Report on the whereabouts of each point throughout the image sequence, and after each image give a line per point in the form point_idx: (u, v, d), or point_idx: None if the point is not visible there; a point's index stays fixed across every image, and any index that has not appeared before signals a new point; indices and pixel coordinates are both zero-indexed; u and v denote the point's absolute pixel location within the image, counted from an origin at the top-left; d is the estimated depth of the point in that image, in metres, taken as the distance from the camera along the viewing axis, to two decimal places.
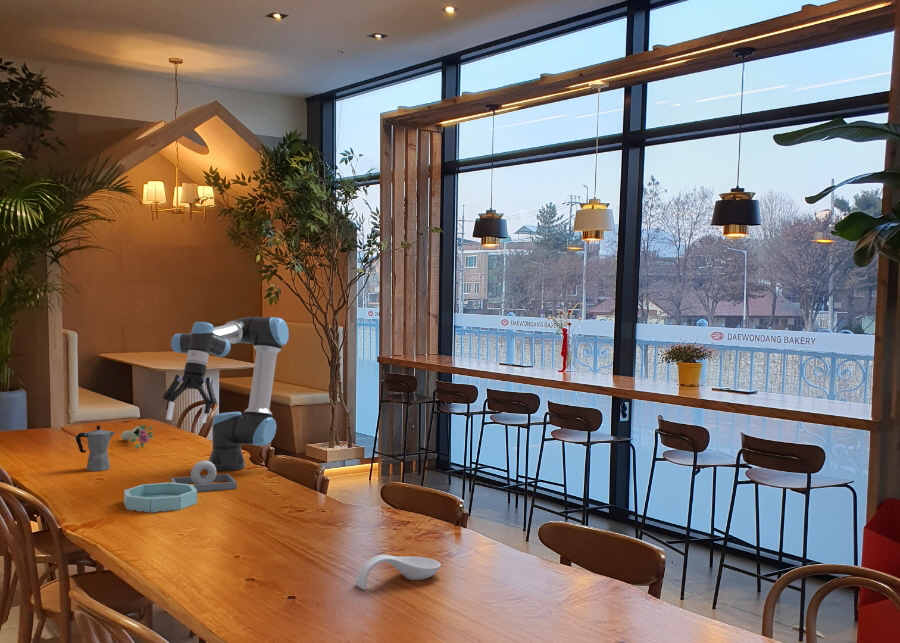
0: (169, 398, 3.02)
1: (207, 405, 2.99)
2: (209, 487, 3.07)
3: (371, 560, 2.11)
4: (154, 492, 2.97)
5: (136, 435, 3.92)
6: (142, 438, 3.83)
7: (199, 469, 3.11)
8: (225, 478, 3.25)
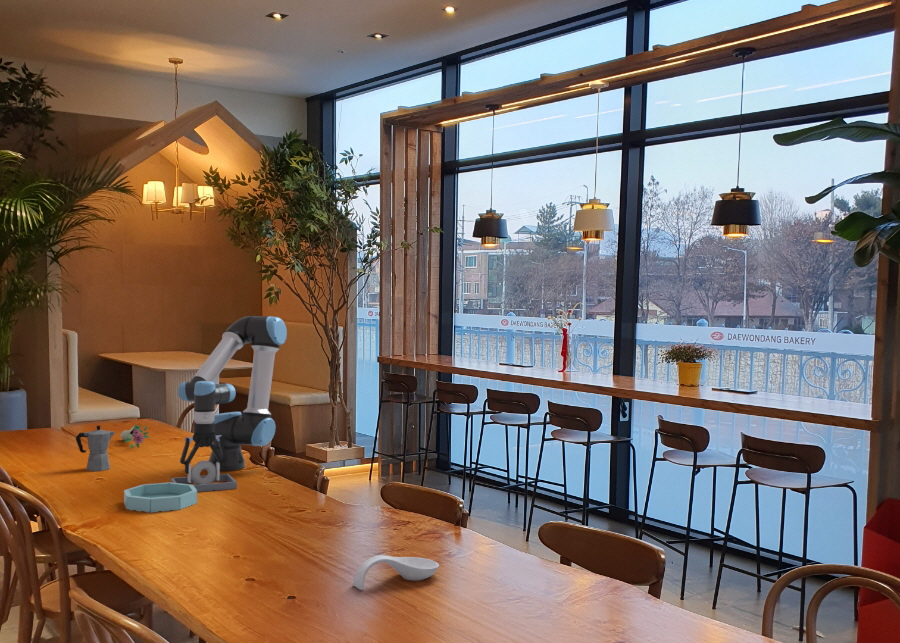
0: (188, 462, 3.10)
1: (220, 463, 3.16)
2: (209, 487, 3.07)
3: (368, 560, 2.11)
4: (154, 492, 2.97)
5: (132, 435, 3.92)
6: (136, 438, 3.83)
7: (199, 469, 3.11)
8: (225, 478, 3.25)
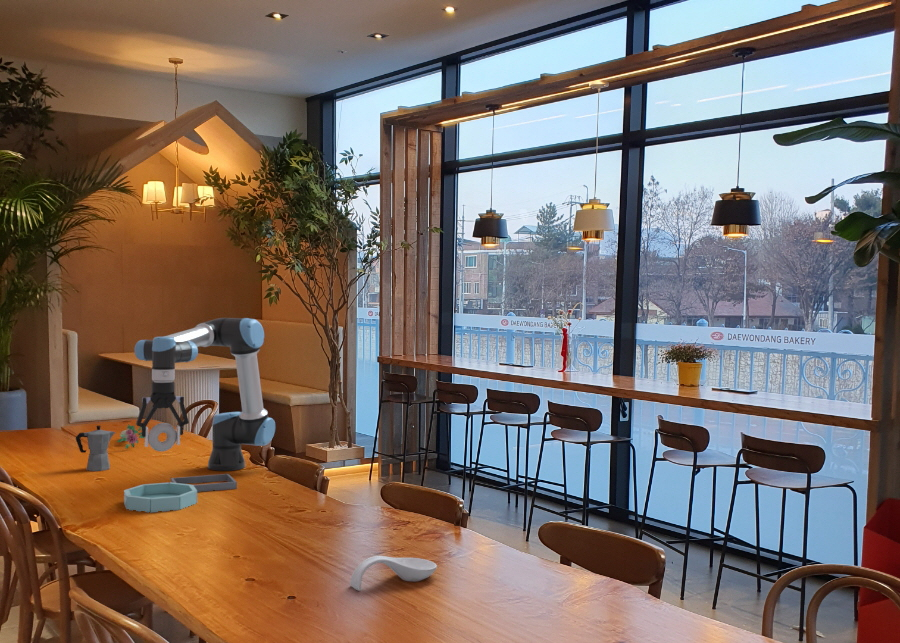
0: (145, 424, 2.84)
1: (181, 427, 2.90)
2: (209, 487, 3.07)
3: (366, 561, 2.11)
4: (154, 492, 2.97)
5: None
6: (130, 438, 3.82)
7: (157, 432, 2.85)
8: (225, 478, 3.25)
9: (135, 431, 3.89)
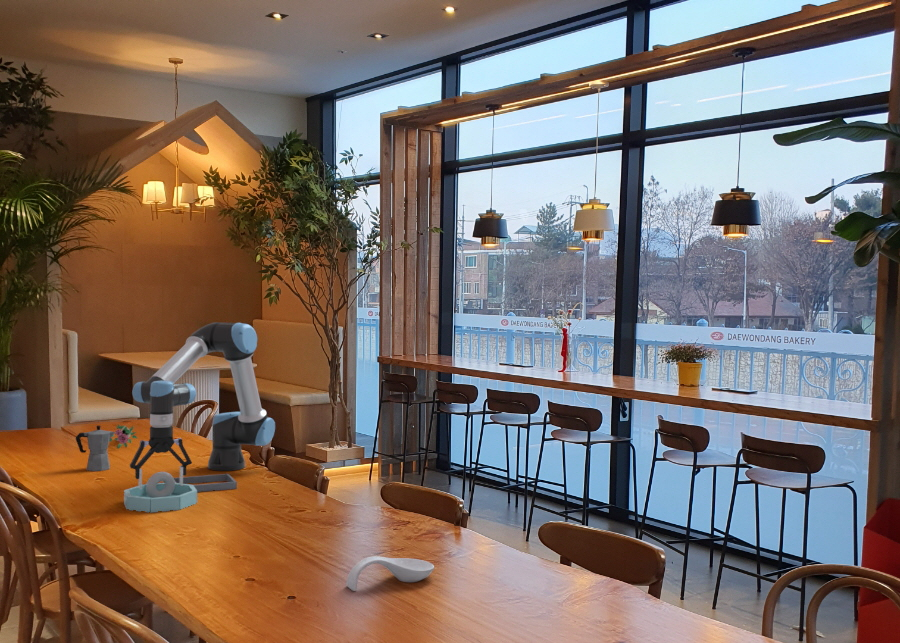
0: (138, 467, 2.83)
1: (184, 467, 2.91)
2: (209, 487, 3.07)
3: (362, 561, 2.10)
4: None
5: None
6: (121, 438, 3.82)
7: (155, 481, 2.85)
8: (225, 478, 3.25)
9: (128, 431, 3.88)
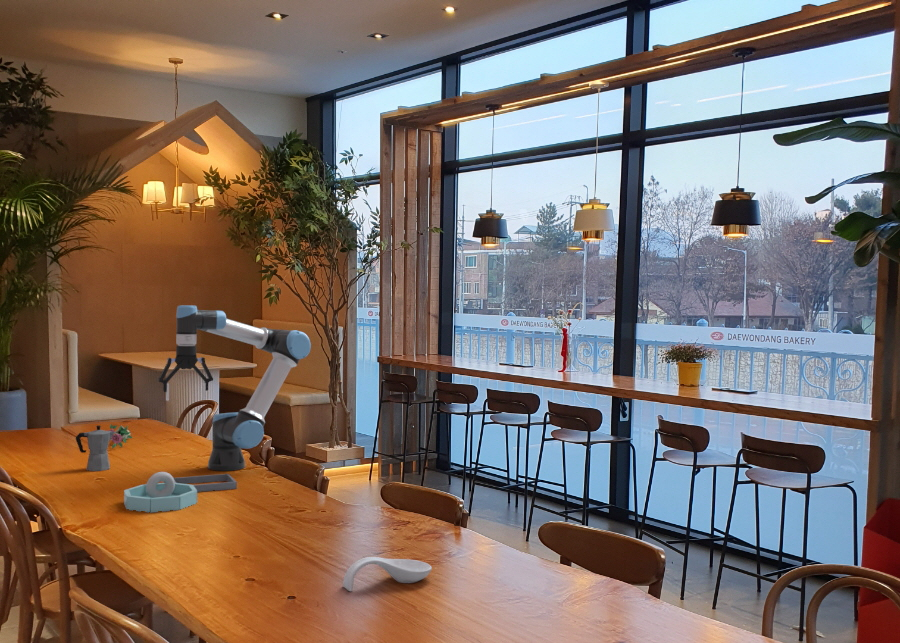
0: (166, 381, 3.17)
1: (206, 383, 3.24)
2: (209, 487, 3.07)
3: (359, 562, 2.10)
4: None
5: (119, 434, 3.93)
6: (114, 438, 3.82)
7: (155, 481, 2.85)
8: (225, 478, 3.25)
9: (123, 431, 3.88)
